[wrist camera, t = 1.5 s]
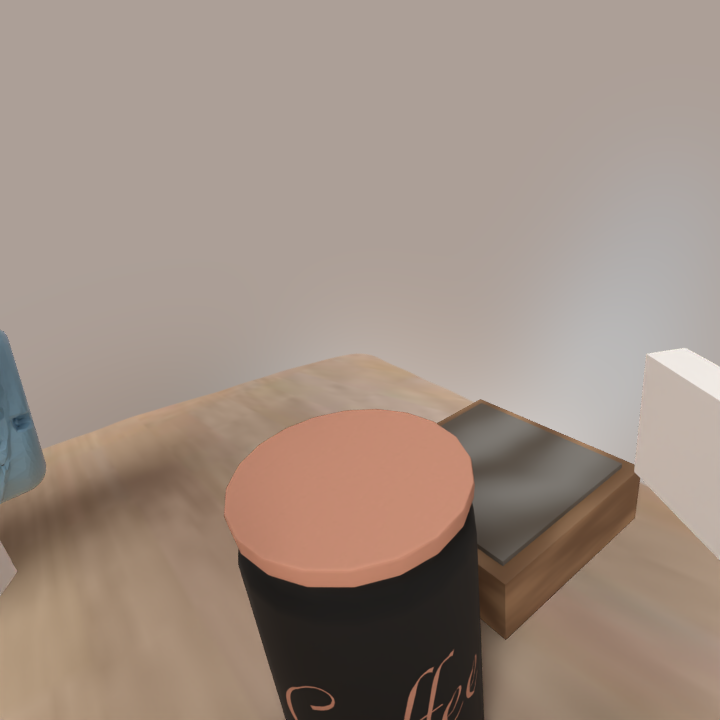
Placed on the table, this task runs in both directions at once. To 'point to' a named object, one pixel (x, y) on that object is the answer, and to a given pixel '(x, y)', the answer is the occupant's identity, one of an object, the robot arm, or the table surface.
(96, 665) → the table surface
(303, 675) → the coffee jar
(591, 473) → the walnut stand
